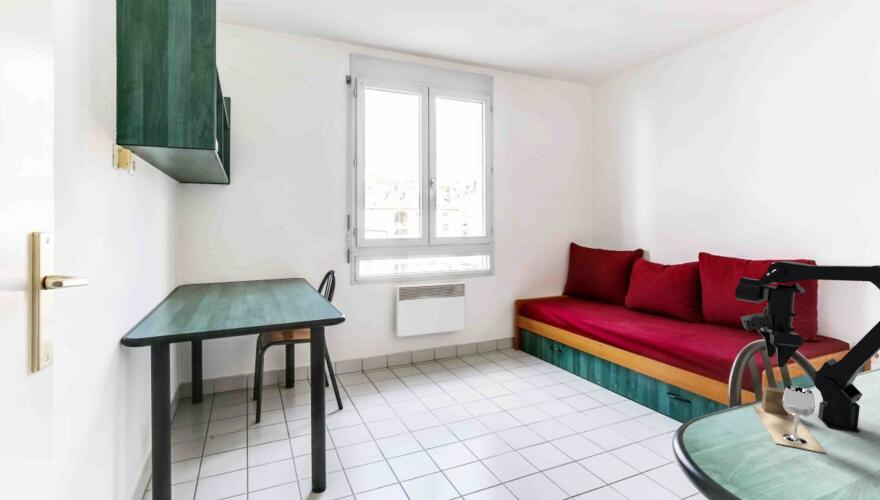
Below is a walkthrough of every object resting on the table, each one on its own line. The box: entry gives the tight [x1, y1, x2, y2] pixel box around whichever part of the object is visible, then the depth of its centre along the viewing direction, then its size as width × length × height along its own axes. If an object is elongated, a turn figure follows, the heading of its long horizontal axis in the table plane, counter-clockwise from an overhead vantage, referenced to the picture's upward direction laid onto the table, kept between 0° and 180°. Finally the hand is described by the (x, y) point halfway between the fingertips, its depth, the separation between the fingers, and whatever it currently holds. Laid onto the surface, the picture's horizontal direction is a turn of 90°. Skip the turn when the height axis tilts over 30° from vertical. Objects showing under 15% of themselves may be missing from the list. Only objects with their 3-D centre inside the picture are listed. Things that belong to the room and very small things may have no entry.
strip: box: [752, 385, 827, 454], centre depth 107 cm, size 9×22×6 cm, turn 156°
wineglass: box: [782, 385, 815, 444], centre depth 101 cm, size 6×6×12 cm
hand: (775, 361), depth 121 cm, fingers open, 9 cm apart
